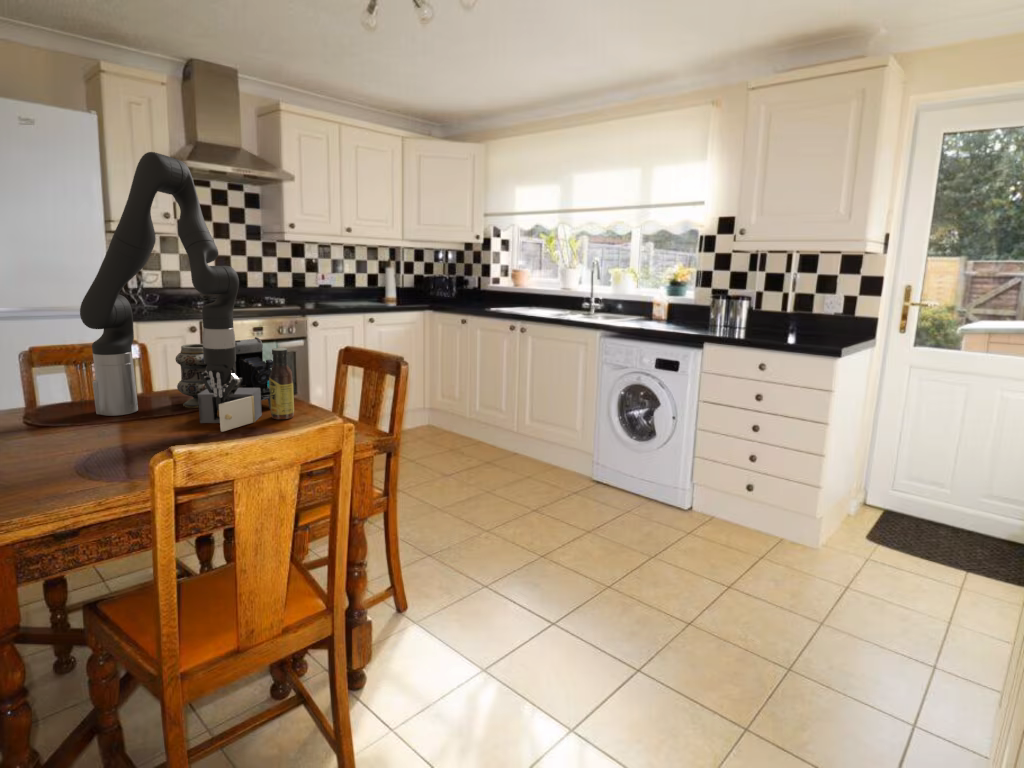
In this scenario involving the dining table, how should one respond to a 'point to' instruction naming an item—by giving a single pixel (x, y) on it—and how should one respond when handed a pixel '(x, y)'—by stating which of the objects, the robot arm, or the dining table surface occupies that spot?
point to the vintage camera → (252, 366)
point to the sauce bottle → (281, 386)
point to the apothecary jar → (191, 372)
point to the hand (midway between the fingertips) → (222, 409)
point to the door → (236, 413)
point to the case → (209, 407)
